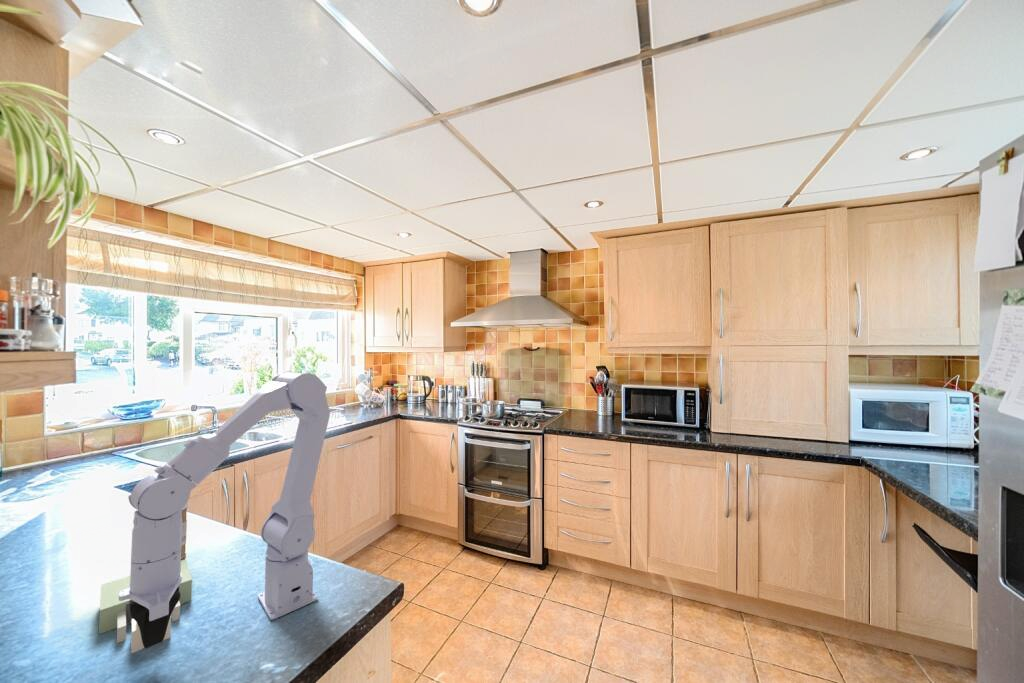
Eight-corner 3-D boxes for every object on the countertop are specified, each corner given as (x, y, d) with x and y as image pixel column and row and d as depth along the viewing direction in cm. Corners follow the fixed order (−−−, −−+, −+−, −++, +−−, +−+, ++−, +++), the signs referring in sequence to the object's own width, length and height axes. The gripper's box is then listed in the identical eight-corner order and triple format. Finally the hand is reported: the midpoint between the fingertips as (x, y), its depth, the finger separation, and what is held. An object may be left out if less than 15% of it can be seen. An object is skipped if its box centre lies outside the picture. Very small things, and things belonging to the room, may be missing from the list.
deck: (195, 613, 69) (195, 591, 69) (98, 650, 60) (98, 625, 60) (184, 578, 79) (185, 559, 79) (100, 606, 71) (101, 584, 71)
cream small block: (170, 638, 63) (171, 610, 63) (131, 654, 60) (132, 625, 60) (168, 625, 66) (168, 600, 66) (130, 640, 63) (131, 613, 63)
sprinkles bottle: (170, 555, 88) (172, 497, 88) (191, 554, 89) (192, 496, 89) (153, 566, 84) (155, 505, 84) (175, 565, 84) (177, 504, 84)
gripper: (119, 546, 61) (116, 632, 60) (120, 585, 51) (116, 688, 50) (177, 531, 66) (174, 610, 65) (189, 564, 56) (185, 657, 55)
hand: (153, 642), depth 58 cm, fingers closed
